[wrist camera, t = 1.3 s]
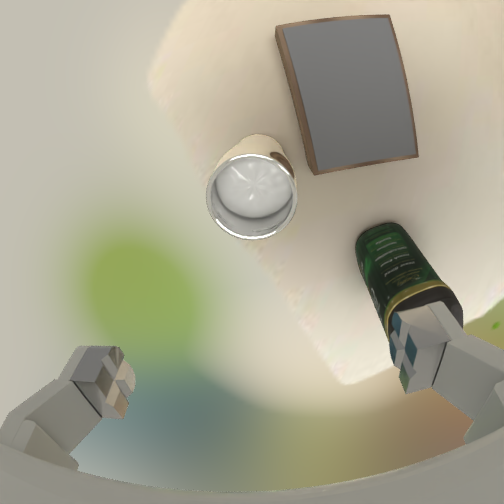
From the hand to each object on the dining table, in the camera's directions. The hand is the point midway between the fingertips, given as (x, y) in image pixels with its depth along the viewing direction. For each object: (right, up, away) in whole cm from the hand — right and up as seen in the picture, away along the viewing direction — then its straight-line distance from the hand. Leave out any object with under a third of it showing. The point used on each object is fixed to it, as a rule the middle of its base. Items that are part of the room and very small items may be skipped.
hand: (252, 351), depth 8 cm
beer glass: (+1, +14, +27) cm, 30 cm away
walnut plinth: (+10, +21, +22) cm, 32 cm away
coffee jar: (+18, +3, +32) cm, 36 cm away
